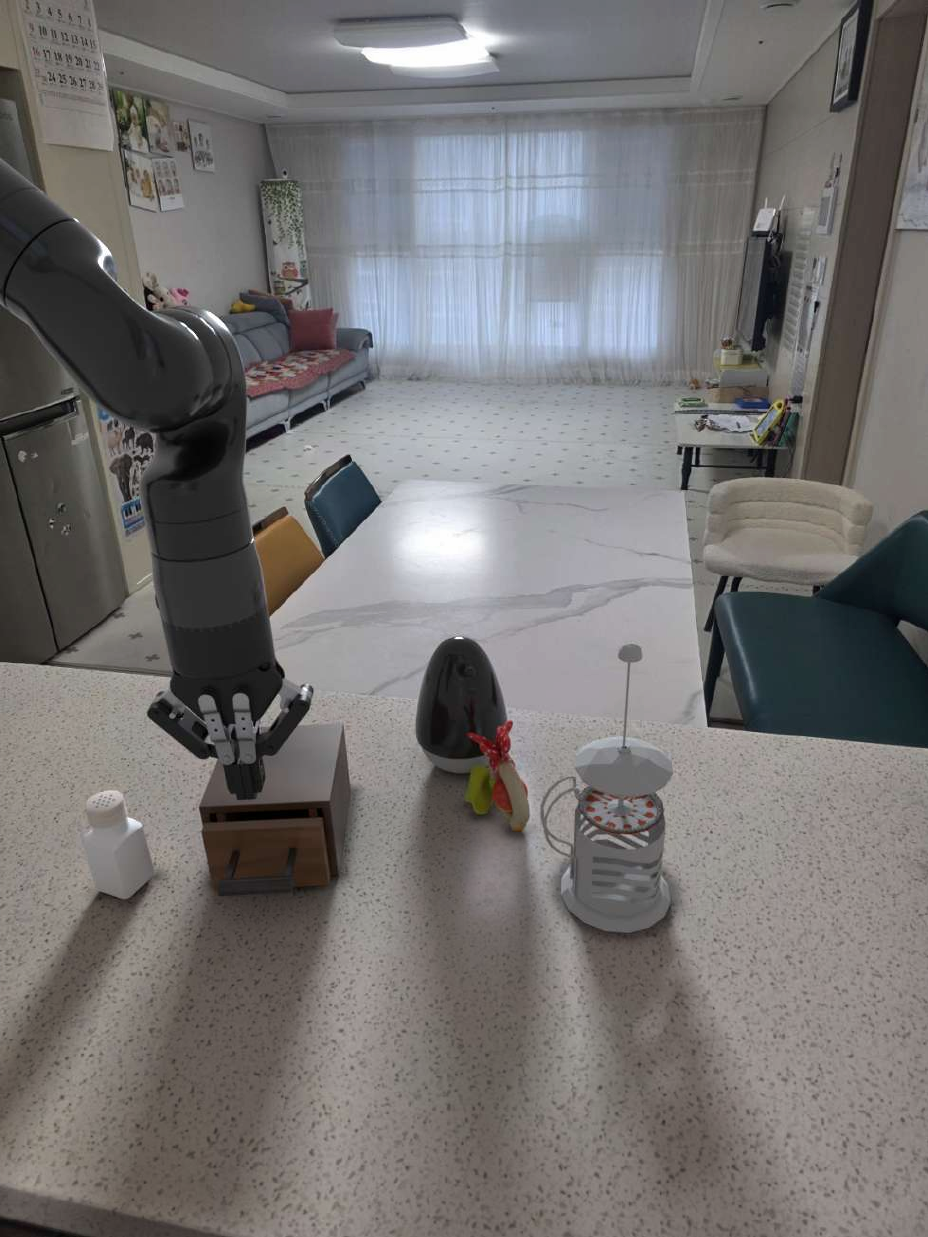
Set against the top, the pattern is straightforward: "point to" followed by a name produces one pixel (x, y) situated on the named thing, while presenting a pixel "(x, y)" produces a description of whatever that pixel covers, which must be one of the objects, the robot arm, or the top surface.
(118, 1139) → the top surface
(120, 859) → the pepper shaker
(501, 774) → the bird rattle
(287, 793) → the cabinet
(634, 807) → the french press
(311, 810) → the drawer
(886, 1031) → the top surface
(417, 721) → the black egg-shaped device
